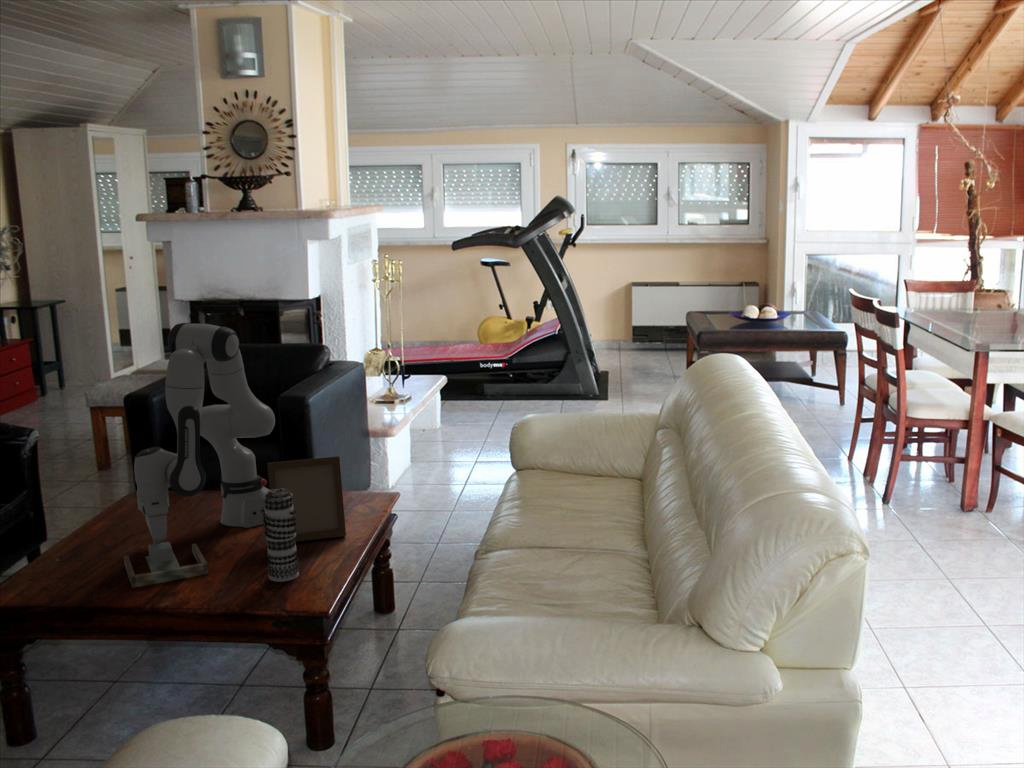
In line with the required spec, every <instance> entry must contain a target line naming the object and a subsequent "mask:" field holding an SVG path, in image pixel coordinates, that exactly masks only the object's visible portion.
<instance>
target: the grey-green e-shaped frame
mask: <svg viewBox="0 0 1024 768" xmlns="http://www.w3.org/2000/svg"><path fill="white" fill-rule="evenodd" d="M191 550H192V555H193V557H194V559H195V560H196V563H190V564H186V565H182V566H180V564H179V562H178V559H177V557H176V555H175V553H174V552H173V561H167V562H161V563H156V564H152V563H151V561H150V558H149V555H147V556H145V560H146V562H147V566H148V568H149V570H150V571H148V572H141V573H136V574H135V571H134V568H133V566H132V563H131V560H130V556H129V555H124V556H123V562H124V567H125V570H126V573H127V574H126V575H127V577H128V579H129V584H130V586H131V589H135V588H140V587H141V588H142V587H145V586H150V585H151V586H152V585H156V584H160V583H162V584H163V583H166V582H173V581H177V580H182V579H188V578H194V577H199V576H203V575H208V574H209V567H208V562H207V561H206V559H205V557H204V555H203V554H202V552H201V550H200V548H199V546H198V545H197V543H191Z"/></svg>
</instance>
